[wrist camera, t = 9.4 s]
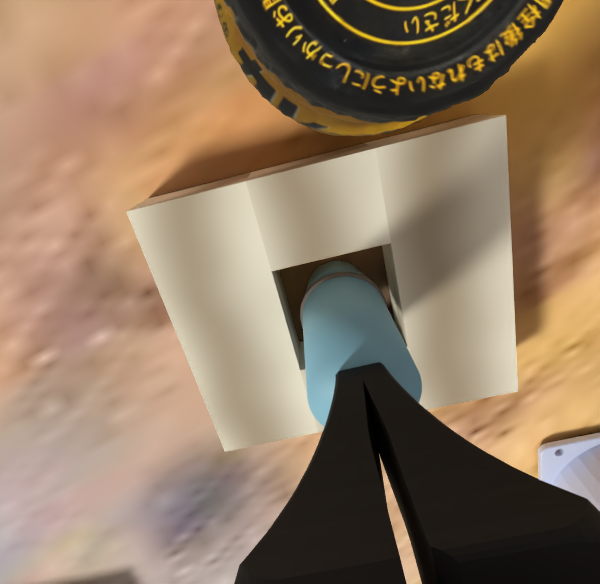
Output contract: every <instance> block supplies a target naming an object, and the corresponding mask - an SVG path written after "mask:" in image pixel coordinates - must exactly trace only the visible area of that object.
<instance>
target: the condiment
mask: <svg viewBox="0 0 600 584" xmlns="http://www.w3.org/2000/svg"><path fill="white" fill-rule="evenodd" d="M214 2H215V6H216V9H217V13H218V17H219V20H220V23H221V26H222V29H223V32H224V35H225V38H226V41H227V43H228V45H229V47H230V51H231V53H232V55H233V56H234V58H235V59H236V60H237V62H238V63H239V64H240V66H241V68H242V70H243V72H244V73H245V75H246V77H247V78H248V80H249V82H250V83H251V84H252V85H253V86H254V87H255V88H256V89H257V90H258V91H259V92H260V94H261V95H262V97H264V98H265V99H267V100H268V101H269V102H270V103H271V104H272V105H273V106H275V107H276V108H277V109H278V110H280V111H281V112H282V113H283V114H284V115H286V116H288V117H291V118H292V119H294V120H295V121H297V122H298V123H300V124H303V125H305V126H307V127H309V128H311V129H312V130H315V131H317V132H320V133H325V134H329V135H334V136H337V135H344V136H370V135H378V134H385V133H390V132H394V131H397V130H399V129H401V128H404V127H406V126H408V125H411V124H414V123H416V122H419V121H421V120H422V119H424V118H426V117H428V116H429V115H431V114H433V113H436V112H439V111H442V110H446V109H448V108H449V107H451V106H453V105H456V104H459V103H462V102H464V101H469V100H471V99H473V98H475V97H477V96H479V95H481V94H482V93H484V92H485V91H487V90H488V89H489V88H490V86H491V85H492V84H493V83H494V81H495V80H496V79H497V78H499V77H501V76H503V75H504V74H505V73H507V72H508V71H509V69H510V67H511V65H512V64H514V62H515V61H516V60H517V59H518V58H519V57H520V56H521V55H522V54H523V53H524V52H525V51H526V50H527V49H528V48H529V47H530V46H531V45H532V44H533V43H535V42H536V39H537V38H539V37H540V36H541V35H542V34H543V33H544V32H545V30H546V29H547V27H548V26H549V24H550V23H551V21H552V20H553V18H554V16H555V15H556V13H557V11H558V9H559V8H560V6H561V4H562V2H563V0H214Z"/></svg>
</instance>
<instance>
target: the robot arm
mask: <svg viewBox="0 0 600 584" xmlns="http://www.w3.org/2000/svg"><path fill="white" fill-rule="evenodd" d="M379 454H380V456H379ZM380 457H381V460H382V462H383V465H384V468H385V471H386V473H387V476H388V479H389V482H390V484H391V487H392V490H393V493H394V495H395V498H396V501H397V503H398V506H399V509H400V512H401V514H402V517H403V520H404V522H405V525H406V529H407V532H408V535H409V538H410V541H411V545H412V548H413V552H414V556H415V559H416V563H417V567H418V570H419V574H420V578H421V581H422V584H600V432H599V433H594V434H589V435H584V436H579V437H574V438H569V439H564V440H559V441H554V442H549V443H545V444H543V445H541V446H540V447H539V449H538V479H537V478H535V477H533V476H531V475H528V474H526V473H524V472H522V471H520V470H518V469H516V468H514V467H512V466H510V465H508V464H506V463H504V462H503V461H501V460H499V459H497V458H495V457H494V456H492V455H490V454H488V453H486V452H484V451H483V450H481V449H480V448H478V447H476V446H475V445H473V444H472V443H470V442H469V441H467V440H465V439H464V438H463V437H461V436H460V435H458V434H457V433H455V432H454V431H453V430H451V429H450V428H448V427H447V426H446V425H445V424H443V423H442V422H441V421H439V420H438V419H437V418H436V417H435V416H433V415H432V414H431V413H430V412H428V411H427V410H426V409H425V408H424V407H423V406H422V405H420V404H419V403H418V402H417V401H416V400H415V399H414V398H413V397H412V396H411V395H410V394H409V393H408V392H407V391H406V390H405V389H404V388H403V387H402V386H401V385H400V384H399V383H398V382H397V381H396V380H395V378H394V377H393V376H392V375H391V374H390V372H389V371H388V370H387V369H386V367H385V366H384V364H382V363H380V362H378V363H373V364H368V365H364V366H359V367H355V368H350V369H345V370H341V371H338V372H337V374H336V380H335V389H334V394H333V399H332V403H331V407H330V411H329V414H328V418H327V421H326V424H325V427H324V430H323V433H322V435H321V438H320V441H319V444H318V446H317V448H316V451H315V453H314V455H313V458H312V460H311V462H310V464H309V466H308V468H307V470H306V472H305V474H304V476H303V477H302V479H301V481H300V483H299V485H298V487H297V488H296V490H295V492H294V493H293V495H292V497H291V498H290V500H289V501H288V503H287V504H286V506H285V507H284V509H283V510H282V512H281V513H280V515H279V516H278V518H277V519H276V520H275V522H274V523H273V525H272V526H271V528H270V529H269V530H268V532H267V533H266V534H265V535H264V537H263V538H262V539H261V540H260V541H259V543H258V544H257V545H256V546H255V548H254V549H253V550H252V551H251V552H250V554H249V555H248V556H247V557H246V558H245V560H244V561H243V562H242V563H241V564H240V566H239V569H238V573H237V576H236V580H235V583H234V584H406V580H405V576H404V572H403V568H402V564H401V560H400V556H399V552H398V548H397V545H396V541H395V537H394V533H393V529H392V525H391V521H390V518H389V514H388V509H387V503H386V496H385V489H384V483H383V476H382V470H381V463H380Z"/></svg>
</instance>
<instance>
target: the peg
mask: <svg viewBox="0 0 600 584" xmlns="http://www.w3.org/2000/svg"><path fill="white" fill-rule="evenodd" d="M300 319H301V324H302V328H303V337H304V353H305V369H306V385H307V398H308V404H309V407H310V410H311V412H312V414H313V415H314V417H315V418H316V419H317V421H318V422H319V423H320V424H321V425H323V426H324V427H325V424H326V421H327V418H328V414H329V411H330V407H331V403H332V399H333V394H334V389H335V380H336V374H337V372H338V371H341V370H345V369H350V368H355V367H359V366H364V365H368V364H373V363H378V362H380V363H382V364H384V366H385V367H386V369H387V370H388V371H389V372H390V374H391V375H392V376H393V377H394V378H395V380H396V381H397V382H398V383H399V384H400V385H401V386H402V387H403V388H404V389H405V390H406V391H407V392H408V393H409V394H410V395H411V396H412V397H413V398H414V399H415V400H416V401H417V402H418V403H419V401H420V398H421V393H422V381H421V376H420V373H419V371H418V369H417V367H416V365H415V363H414V361H413V359H412V357H411V355H410V353H409V351H408V349H407V347H406V345H405V343H404V341H403V339H402V337H401V335H400V333H399V331H398V329H397V327H396V325H395V323H394V321H393V319H392V317H391V314H390V312H389V310H388V308H387V305H386V301H385V298H384V296H383V294H382V292H381V290H380V289H379V287H378V286H377V285H376V284H375V283H374V282H373V281H372V280H371V279H369V278H368V277H367V276H365V275H364V274H363V273H362V272H361V270H360V269H359V268H358V267H356V266H355V265H353V264H351V263H349V262H346V261H339V260H336V261H330V262H327V263H324V264H322V265H321V266H319V267H318V268H317V269H316V270H315V271H314V272H313V273H312V275H311V276H310V278H309V281H308V284H307V290H306V292H305V294H304V297H303V300H302V303H301V308H300Z"/></svg>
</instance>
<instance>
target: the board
mask: <svg viewBox="0 0 600 584" xmlns="http://www.w3.org/2000/svg"><path fill="white" fill-rule="evenodd" d="M127 214H128V217H129V219H130V222H131V224H132V227H133V229H134V231H135V234H136V236H137V239H138V241H139V244H140V246H141V248H142V251H143V253H144V256H145V258H146V261H147V263H148V265H149V268H150V270H151V273H152V275H153V278H154V280H155V283H156V285H157V287H158V290H159V292H160V295H161V297H162V300H163V302H164V304H165V307H166V309H167V312H168V314H169V317H170V319H171V321H172V324H173V326H174V329H175V331H176V334H177V336H178V338H179V341H180V343H181V346H182V348H183V351H184V353H185V356H186V358H187V360H188V363H189V365H190V368H191V370H192V373H193V375H194V377H195V380H196V382H197V385H198V387H199V390H200V392H201V394H202V397H203V399H204V402H205V404H206V407H207V409H208V411H209V414H210V416H211V419H212V421H213V424H214V426H215V429H216V431H217V433H218V436H219V438H220V441H221V443H222V446H223V448H224V450H225V452H226V451H231V450H236V449H241V448H245V447H250V446H255V445H260V444H265V443H270V442H274V441H279V440H284V439H289V438H294V437H299V436H303V435H308V434H313V433H318V432H323V430H324V426H323V425H321V424H320V423H319V422H318V421H317V419H316V418H315V417H314V415H313V414H312V412H311V410H310V407H309V404H308V398H307V385H306V369H305V353H304V341H300V342H299V340H298V337H297V333H296V330H295V326H294V323H293V319H292V315H291V312H290V308H289V305H288V301H287V298H286V294H285V290H284V287H283V283H282V280H281V276H280V273H279V270H280V269H284V268H288V267H292V266H296V265H301V264H305V263H309V262H313V261H318V260H322V259H326V258H330V257H334V256H339V255H343V254H347V253H351V252H355V251H360V250H364V249H368V248H372V247H377V246H381V245H382V250H383V256H384V262H385V268H386V273H387V279H388V285H389V291H390V297H391V302H392V308H393V314H394V323H395V325H396V327H397V329H398V331H399V333H400V335H401V337H402V339H403V341H404V343H405V345H406V347H407V349H408V351H409V353H410V355H411V357H412V359H413V361H414V363H415V365H416V367H417V369H418V371H419V373H420V376H421V381H422V393H421V398H420V401H419V404H420V405H422V406H423V407H424V408H425V409H426V410H429V409H434V408H439V407H444V406H448V405H453V404H458V403H463V402H468V401H473V400H477V399H482V398H487V397H492V396H497V395H502V394H506V393H511V392H516V391H518V380H517V357H516V334H515V311H514V288H513V264H512V241H511V218H510V195H509V172H508V149H507V125H506V115H479V114H476V115H473V116H469V117H465V118H461V119H457V120H453V121H449V122H445V123H441V124H437V125H433V126H430V127H426V128H422V129H418V130H414V131H410V132H406V133H402V134H398V135H394V136H390V137H387V138H383V139H379V140H375V141H371V142H367V143H363V144H359V145H355V146H351V147H347V148H344V149H340V150H336V151H332V152H328V153H324V154H320V155H316V156H312V157H308V158H304V159H301V160H297V161H293V162H289V163H285V164H281V165H277V166H273V167H269V168H265V169H261V170H258V171H254V172H250V173H246V174H242V175H238V176H234V177H230V178H226V179H222V180H218V181H215V182H211V183H207V184H203V185H199V186H195V187H191V188H187V189H183V190H179V191H175V192H172V193H168V194H164V195H160V196H156V197H152V198H148V199H146V200H144V201H143V202H141V203H140V204H138V205H136V206H135V207H133V208H131V209H130V210H128V211H127Z"/></svg>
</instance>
